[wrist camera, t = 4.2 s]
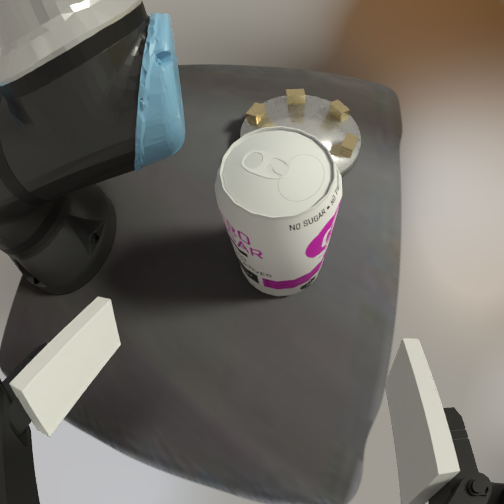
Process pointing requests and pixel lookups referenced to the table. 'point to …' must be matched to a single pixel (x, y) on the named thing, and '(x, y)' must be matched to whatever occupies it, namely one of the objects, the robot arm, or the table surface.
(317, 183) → the supplement can
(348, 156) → the ring plate
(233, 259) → the table surface
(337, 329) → the table surface
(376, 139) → the table surface
